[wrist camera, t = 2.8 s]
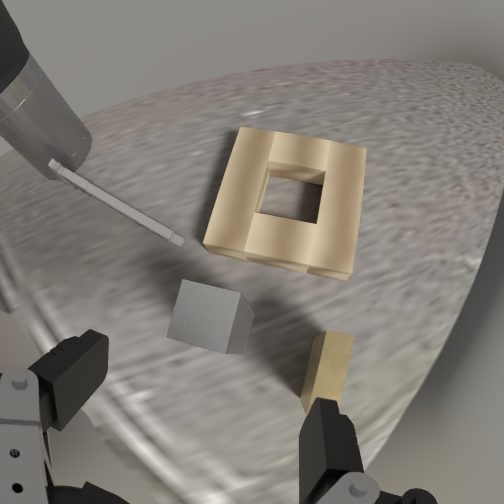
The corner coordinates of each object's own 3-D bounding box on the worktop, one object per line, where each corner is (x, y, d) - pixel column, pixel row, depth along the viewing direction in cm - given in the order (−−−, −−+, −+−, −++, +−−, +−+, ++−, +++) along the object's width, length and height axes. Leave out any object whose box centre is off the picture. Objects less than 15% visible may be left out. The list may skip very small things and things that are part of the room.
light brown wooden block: (299, 397, 28) (306, 415, 20) (314, 337, 30) (326, 330, 21) (319, 401, 28) (334, 420, 19) (334, 341, 29) (354, 335, 21)
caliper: (67, 185, 39) (42, 162, 33) (71, 178, 39) (47, 155, 33) (181, 248, 34) (161, 226, 28) (186, 240, 34) (167, 216, 28)
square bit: (205, 343, 31) (166, 337, 20) (215, 304, 32) (182, 278, 21) (245, 354, 30) (225, 353, 19) (255, 313, 31) (240, 292, 21)
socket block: (209, 252, 33) (202, 243, 30) (243, 142, 37) (240, 126, 34) (345, 281, 31) (352, 273, 28) (361, 163, 35) (366, 148, 32)
